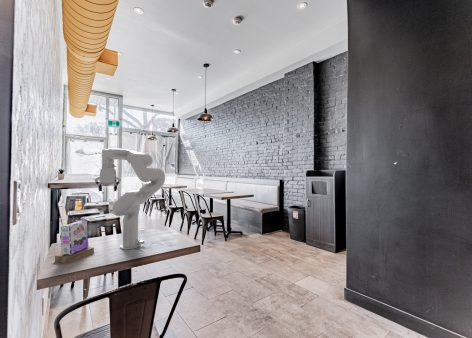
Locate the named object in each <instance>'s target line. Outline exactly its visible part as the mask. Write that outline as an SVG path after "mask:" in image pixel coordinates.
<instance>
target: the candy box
mask: <svg viewBox="0 0 472 338" xmlns="http://www.w3.org/2000/svg"><path fill="white" fill-rule="evenodd" d="M88 234H89V233H88V221H87V220H78V221H74V222H72V223H68V224H63V225H61V226H60V238H61V239H60V241H61V242H60V243H61V245H60V246H61V253H62V255H71V254H74V253H76V252H78V251H81V250H83V249H85V248H87V247H89V235H88Z"/></svg>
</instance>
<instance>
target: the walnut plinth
mask: <svg viewBox="0 0 472 338" xmlns="http://www.w3.org/2000/svg"><path fill="white" fill-rule="evenodd" d="M93 254H95V247H91V246H88V247H87V248H85V249H83V250H81V251H78V252H76V253H74V254H71V255H62V252H61V253H58V254H55V255H54V262H55V263H60V264H63V265H64V264H65V265H68V264H71V263H72V262H75V261H77V260H80V259H84V258H86V257H88V256H91V255H93Z"/></svg>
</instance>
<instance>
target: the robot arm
mask: <svg viewBox="0 0 472 338" xmlns="http://www.w3.org/2000/svg"><path fill="white" fill-rule="evenodd" d="M115 160H119V161H121V160H123V161H126V162H127V163H128V164H130V166H131V167H132V169H133V171H134V172H135V174H136V176H137V178H138V179H139V180H140V182H143V183H145V184H144V185H142V186H141V187H140V188H139V189H137V190H130V191H127V192H125V193H124V194H122V195H121V196H120V197H119V198H118V199H117V200H116V201H115V203H114V204H113V205H112V213H113V214H114V215H115V216H117V217H123V218H122V244H120V245H119V249H121V250H134V249H137V248H140V247H141V245H142V244H143V245H145V244H146V243H145V242H146V241H145V240H144V239H140V238H139V215H140V208H141V205H143V204H145V203H146V202H147V201H148V200H149V199H150V198H151V197H153V196H154V195H155V194H156V193H157V192H158V191H159V190H160V189H161V188H162V187H163V185H164V183H165V180H166V174H165V172H164V170H162V169H161V168H159V167H158V168H157V167H151V165H153V161H154V160H153V157H152V156H151V155H149V154H147V153H143V152H138V151H134V150H129V149H123V148H116V147H115V148H114V147H112V148H102V150H101V168H100V170H99V176H98V177H96V178H94V179H93V180H94V182H95V184H96V185H97V186H98V191H99V192H102V191H103V184H111V183H112V184H113V192H117V190H118V186H119V184H120V183H121V181H122V179H121V178H120V177H118V176H117V170H116V167H117V165H116V164H115Z"/></svg>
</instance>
